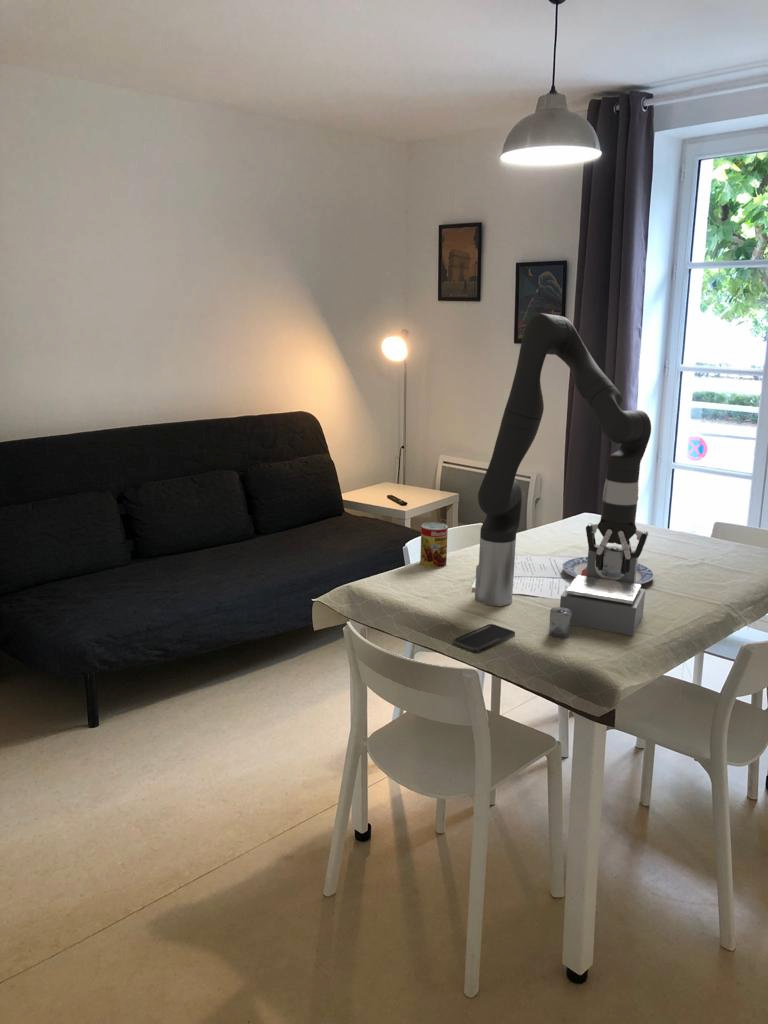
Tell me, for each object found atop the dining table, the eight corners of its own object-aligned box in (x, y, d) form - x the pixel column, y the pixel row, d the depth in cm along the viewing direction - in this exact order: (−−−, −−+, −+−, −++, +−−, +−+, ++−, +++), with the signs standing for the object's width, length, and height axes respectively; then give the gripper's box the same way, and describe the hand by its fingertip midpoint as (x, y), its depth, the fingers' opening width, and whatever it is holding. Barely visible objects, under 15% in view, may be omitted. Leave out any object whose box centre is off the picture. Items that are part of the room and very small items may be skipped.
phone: (451, 640, 191) (490, 623, 202) (451, 644, 191) (490, 627, 202) (478, 650, 186) (517, 632, 196) (478, 655, 186) (517, 636, 197)
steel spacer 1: (546, 636, 196) (548, 612, 195) (551, 629, 201) (553, 605, 199) (567, 640, 194) (569, 616, 193) (572, 632, 199) (574, 609, 197)
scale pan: (565, 593, 203) (566, 590, 203) (577, 577, 215) (577, 575, 215) (632, 604, 197) (632, 600, 197) (641, 587, 208) (641, 584, 208)
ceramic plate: (658, 595, 226) (659, 585, 225) (562, 587, 231) (563, 577, 230) (648, 567, 250) (649, 557, 250) (562, 560, 255) (562, 551, 255)
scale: (558, 622, 205) (563, 560, 201) (574, 599, 221) (579, 542, 217) (633, 635, 197) (639, 572, 194) (644, 611, 213) (650, 552, 209)
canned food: (436, 570, 243) (438, 530, 240) (415, 564, 248) (416, 526, 245) (451, 563, 249) (452, 525, 246) (429, 558, 254) (430, 520, 251)
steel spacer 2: (598, 575, 188) (601, 549, 187) (603, 569, 193) (605, 544, 191) (621, 579, 186) (624, 553, 185) (625, 572, 191) (627, 547, 189)
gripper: (584, 498, 185) (577, 571, 189) (650, 507, 179) (642, 581, 183) (591, 492, 191) (584, 562, 196) (655, 500, 185) (647, 572, 190)
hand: (612, 571), depth 189 cm, fingers closed on steel spacer 2, 5 cm apart
